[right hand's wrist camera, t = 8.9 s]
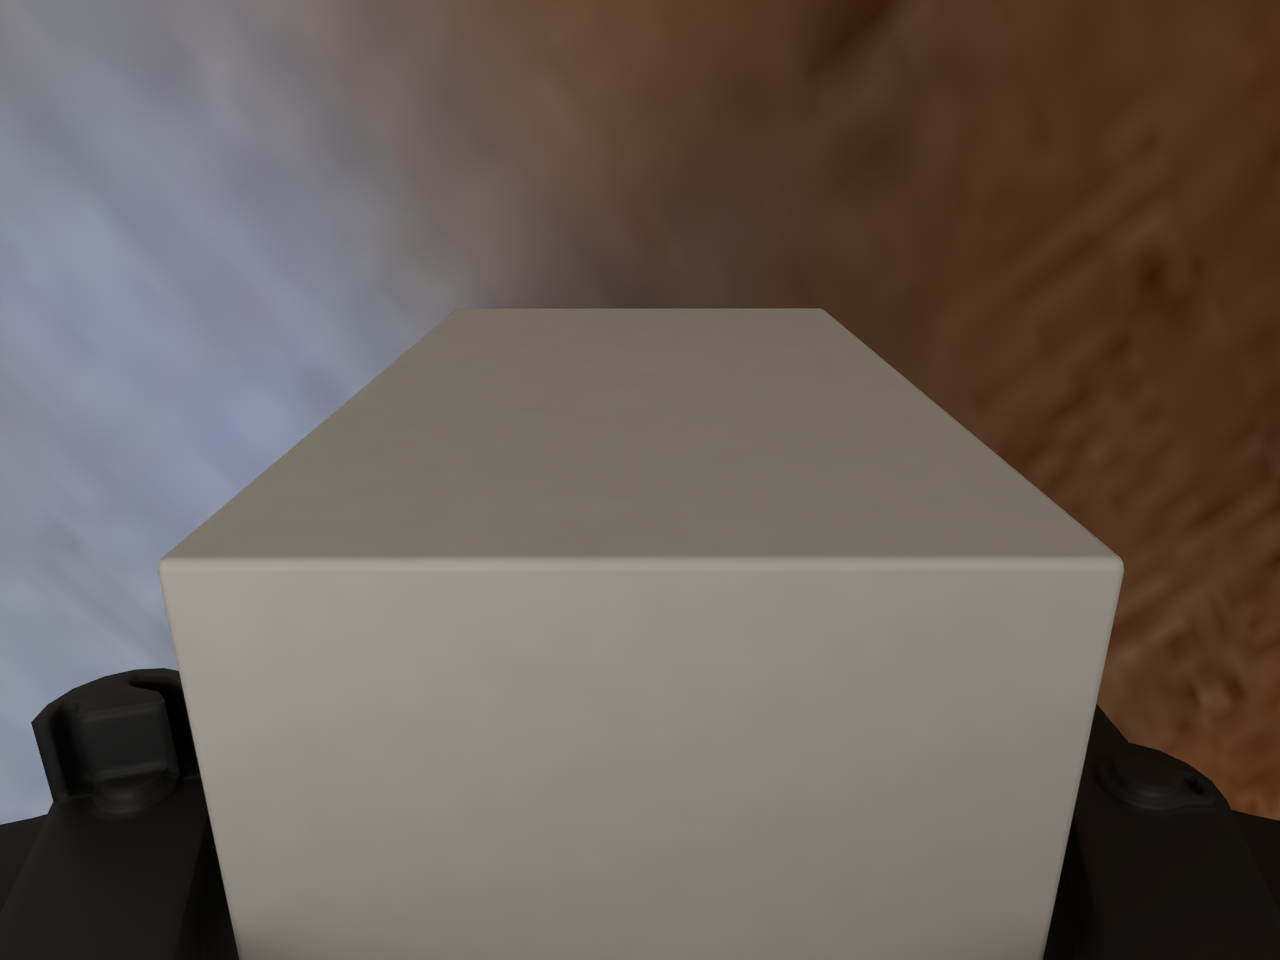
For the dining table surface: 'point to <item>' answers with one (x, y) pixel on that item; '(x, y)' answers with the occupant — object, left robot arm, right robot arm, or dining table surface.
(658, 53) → the dining table surface
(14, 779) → the dining table surface
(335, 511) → the bar
